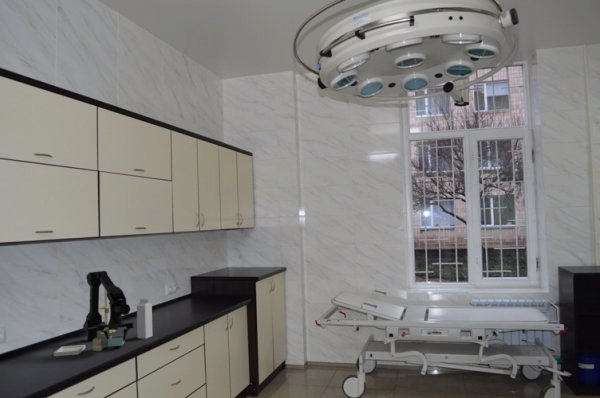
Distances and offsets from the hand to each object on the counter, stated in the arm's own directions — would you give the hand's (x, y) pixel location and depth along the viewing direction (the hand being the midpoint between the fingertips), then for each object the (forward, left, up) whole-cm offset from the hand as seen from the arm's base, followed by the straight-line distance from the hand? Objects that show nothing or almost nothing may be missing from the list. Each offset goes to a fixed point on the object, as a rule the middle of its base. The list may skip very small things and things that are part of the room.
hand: (116, 342), depth 247 cm
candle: (-40, -14, -3) cm, 42 cm away
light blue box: (0, 0, -1) cm, 1 cm away
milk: (-18, +12, -3) cm, 22 cm away
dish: (+2, -23, -3) cm, 23 cm away
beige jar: (+2, -9, -3) cm, 10 cm away
